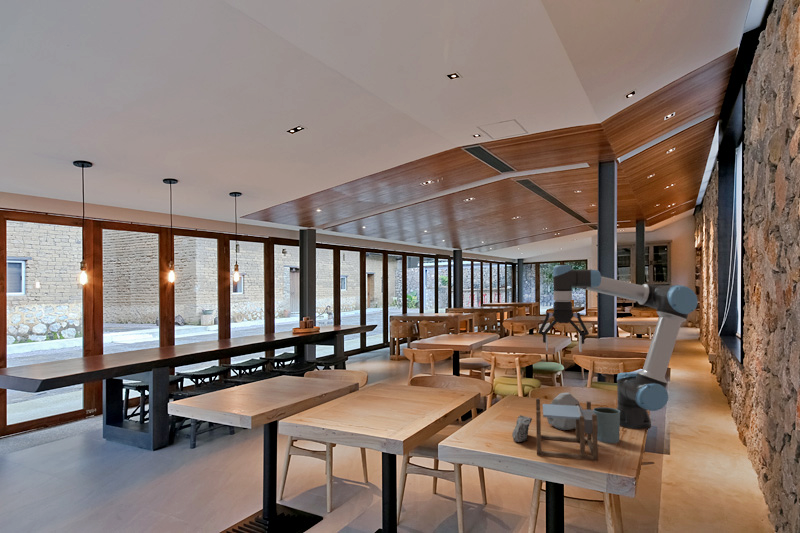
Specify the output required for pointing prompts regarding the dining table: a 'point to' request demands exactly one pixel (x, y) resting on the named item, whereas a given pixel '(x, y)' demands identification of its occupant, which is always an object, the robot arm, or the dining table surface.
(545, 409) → the grey hammer-shaped piece
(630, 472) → the dining table surface
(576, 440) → the brown wooden frame
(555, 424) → the stone
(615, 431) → the grey-green cylindrical pot
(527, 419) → the rock
